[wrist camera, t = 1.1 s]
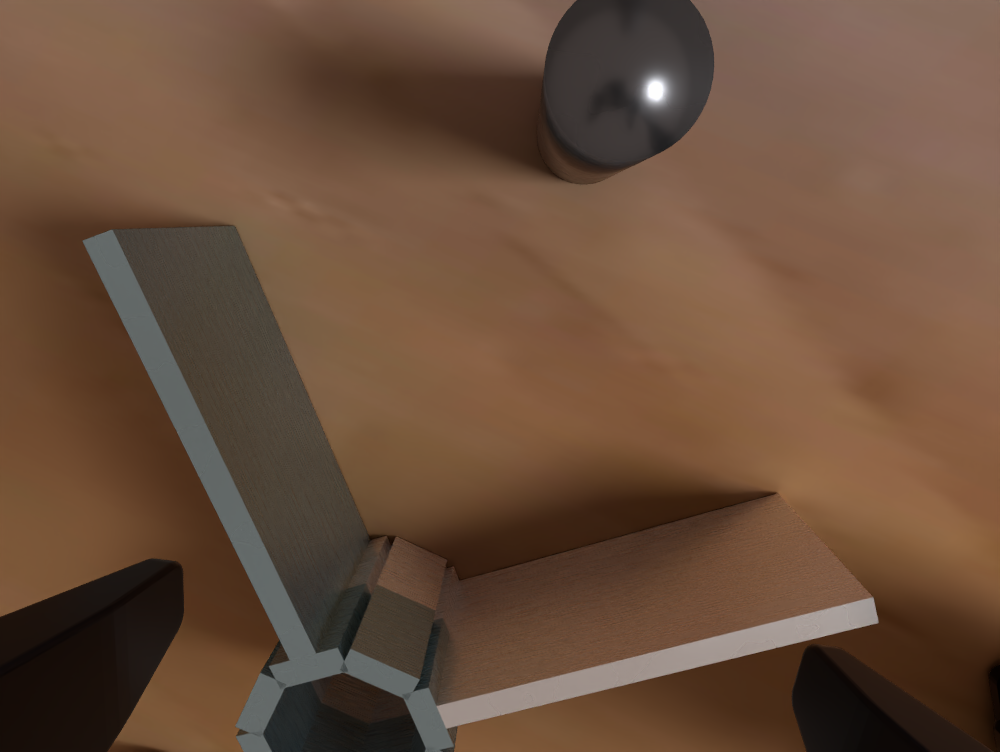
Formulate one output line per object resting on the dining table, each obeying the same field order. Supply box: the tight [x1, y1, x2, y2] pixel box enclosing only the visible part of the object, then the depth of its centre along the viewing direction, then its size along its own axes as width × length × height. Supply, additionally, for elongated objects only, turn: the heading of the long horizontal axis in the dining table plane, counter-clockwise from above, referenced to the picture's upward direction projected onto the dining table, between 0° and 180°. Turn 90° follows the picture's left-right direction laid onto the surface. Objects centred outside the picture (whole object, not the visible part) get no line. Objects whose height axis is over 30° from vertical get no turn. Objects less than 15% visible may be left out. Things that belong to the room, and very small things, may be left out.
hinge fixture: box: [83, 226, 879, 752], centre depth 18 cm, size 18×18×6 cm
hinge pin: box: [537, 0, 714, 184], centre depth 15 cm, size 3×3×8 cm
